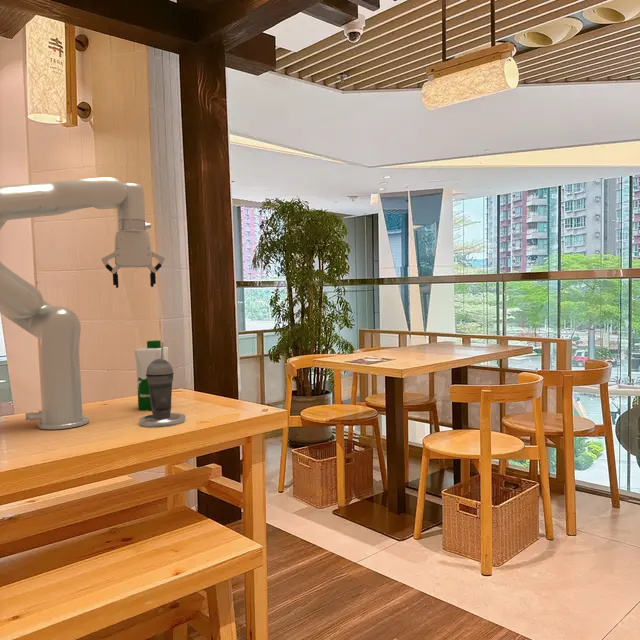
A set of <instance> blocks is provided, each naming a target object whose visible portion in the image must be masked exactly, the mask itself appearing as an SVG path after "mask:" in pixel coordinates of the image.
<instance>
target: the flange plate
mask: <svg viewBox="0 0 640 640" xmlns="http://www.w3.org/2000/svg"><path fill="white" fill-rule="evenodd" d="M186 419H187V418H186V414H183V413H181V412H180V413H178V412H171V413H170V417H169V418H164V419H154V418H153V414H149V415H144V416H142V417H139V418H138V426H140V425H141V426H140V427H143V426H146V427H145V428H165V427H164V426H166V427H172V425H173V426H177V425H176V424H178V425H180V423H181V424H183V423H185V422H186V421H185V420H186ZM184 421H185V422H184Z"/></svg>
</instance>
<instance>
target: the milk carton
mask: <svg viewBox="0 0 640 640" xmlns="http://www.w3.org/2000/svg"><path fill="white" fill-rule="evenodd" d="M161 347H162V341H161V340H156V339H155V340H148V341H146V347H141V348H137V349H135V350H133V351H134V358H135V364H136V367H135V368H136V380H137V381H136V384H137V385H136V386H137V387H136V388H137V405H138V406H137V408H138V411H152V408H151V400H150V393H149V385H148V382H147V376H146V371H147V368H148V366H149V364H150V363H151V362H152V361H154V360H157V359H161ZM163 359H164V360H166V361H168V362H169V347H168V346H163Z"/></svg>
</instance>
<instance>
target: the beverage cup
mask: <svg viewBox="0 0 640 640" xmlns="http://www.w3.org/2000/svg"><path fill="white" fill-rule="evenodd" d="M163 347H164V342H161V359H157V360H154V361H152V362H151V363H150V364H149V366H148V368H147V371H146V376H147V382H148V385H149V393H150V400H151V408H152V410H151V413H152V414H151V415H153V418H154V419H164V418H169V417H170V413H172V412H171V411H172V392H173V390H172V389H173V380H174V374H175V373H174V369H173V366H172V364H171V363H170V362H169V360H168V361H166V360H164V359H163Z"/></svg>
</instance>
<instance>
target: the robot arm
mask: <svg viewBox="0 0 640 640" xmlns="http://www.w3.org/2000/svg"><path fill="white" fill-rule="evenodd" d="M89 208H94V209H97V210H110V209H111V210H112V209H116V211H117V226H118V227H117V229H118V230H117V231H116V232H115V237H114V252H111V253H110V254H108V255H106V256H104V257H102V258H101V262H102V263H103V266H105V268H106V270H107V271H109V272H110V273H111V274H112V283H113V285H112V286H115V288H116V289H117V288H119V274H118V272H119V270H120V268H147V269H148V270H149V271H150V273H149V280H150V281H149V282H150V284H149V285H150V288H154V285H156V284H157V279H156V278H157V277H156V273H157V272H158V271H159V270H160V268H162V266H163V263H164V261H165V257H164V256H162V255H159V254H157V253H155V252H154V251H152V247H151V244H152V243H151V238H150V234H149V232H148V231H147V230H148V229H151V228H152V227H151V226H152V224H151V223H148V222H146V209H145V208H146V207H145V190H144V187H143V185H141V184H139V183H135V182H122V181H121V180H120V179H118V178H116V177H111V176H108V177H107V176H104V177H91V178H80V179H71V180H59V181H49V182H36V183H24V184H9V185H8V184H6V185H0V230H1V229H2V228H3V227H4V225H5V224H6V223H7V222H8V221H11V220H21V219H22V220H23V219H30V218H31V219H32V218H41V217H51V216H58V215H63V214H67V213H70V212H73V211H77V210H81V209H82V210H83V209H89ZM153 258H154V259H156V260H158V262H157V264H156V265H155V266H153V265H152V264H153V263H152V261H153ZM112 259H114V264H115V265H114V266H113V267H112V266H111V265H110V263H109V262H108V261H110V260H112ZM0 314H1V315H3V316H4V317H5V318H6V319H8V320H9V321H11V322H12V323H14V324H15V325H17V326H18V327H20V328H21V329H23V330H25V331H26V332H28V333H29V334H31V335H32V336H34V337H35V338H37V339H39V340H41V345H40V370H41V383H42V385H41V387H42V405H43V407H42V409H41V410H38V412H37V411H36V412H25V421H37V420H38V421H39V422H38V423H37V427H38V429H41V430H66V429H71V428H76V427H81V426H84V425H86V424H88V423H89V422H90V417H89V416H87V415H83V413H84V412H83V397H82V380H81V379H82V378H81V377H82V376H81V364H80V361H81V360H80V343H81V330H82V329H81V323H80V322H81V321H80V319H79V317H78V315H77V313H75V312H74V311H73V310H72V309H70V308H67V307H65V306H53V305H52V304H50V303H48V301H46V300H44V298H43V295H42V293H41V291H40V290H39V289H38V288H37V287H36V286H35V285H34V284H32V283H30V282H29V281H26V279H24V278H23V277H21V276H20V275H18V274H17V273H15V272H14V271H13V270H11V269H10V268H8V267H7V266H6V265H5V264H4V263H2V262H1V261H0Z"/></svg>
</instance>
